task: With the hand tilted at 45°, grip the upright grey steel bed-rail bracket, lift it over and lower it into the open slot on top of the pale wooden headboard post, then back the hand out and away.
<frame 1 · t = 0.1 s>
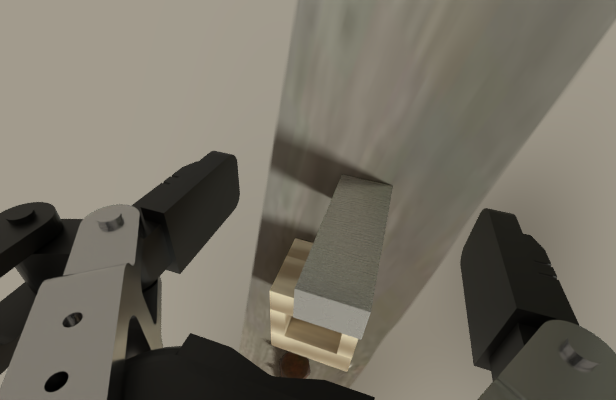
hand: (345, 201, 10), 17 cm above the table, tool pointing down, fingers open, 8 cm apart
rail bracket: (363, 194, 31), on the table
bolt: (294, 366, 62), on the table
headboard post: (329, 279, 41), on the table
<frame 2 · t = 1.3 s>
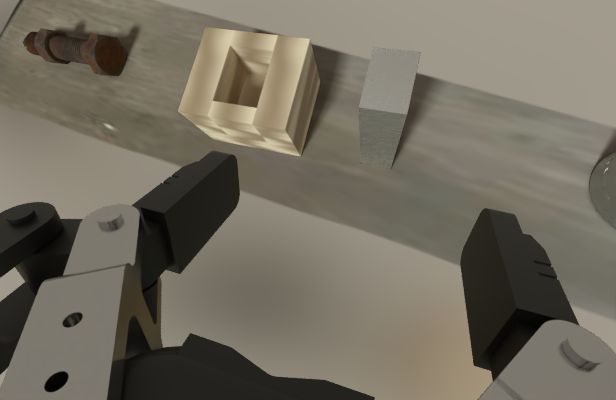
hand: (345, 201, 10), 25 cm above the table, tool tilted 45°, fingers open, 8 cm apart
rail bracket: (379, 146, 37), on the table
bolt: (86, 59, 47), on the table
headboard post: (266, 111, 40), on the table
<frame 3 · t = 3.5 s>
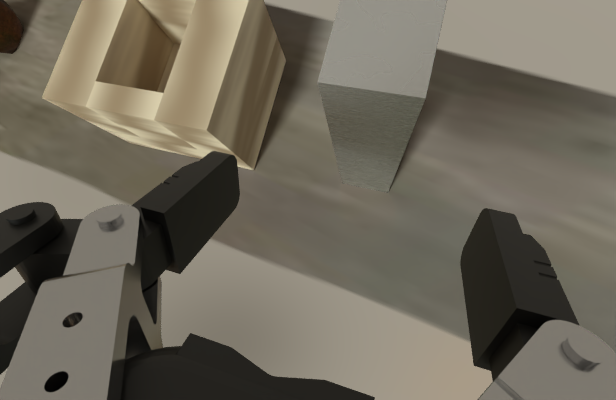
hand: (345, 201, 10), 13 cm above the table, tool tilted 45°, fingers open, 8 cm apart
rail bracket: (372, 157, 24), on the table
headboard post: (207, 102, 27), on the table
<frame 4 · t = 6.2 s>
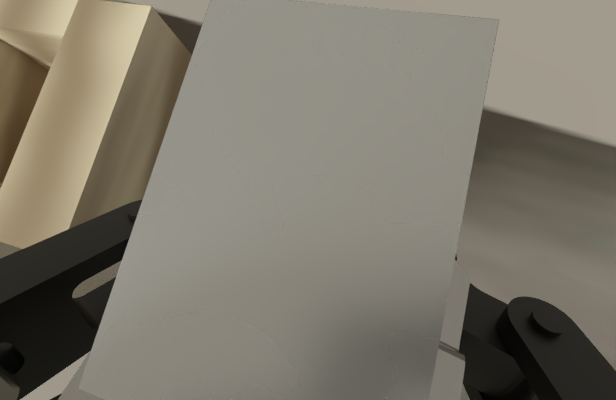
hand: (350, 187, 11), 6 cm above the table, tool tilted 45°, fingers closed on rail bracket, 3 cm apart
rail bracket: (346, 249, 17), on the table, touching gripper
headboard post: (128, 161, 20), on the table
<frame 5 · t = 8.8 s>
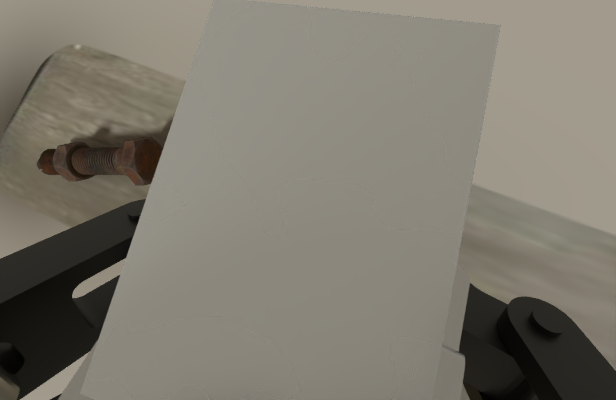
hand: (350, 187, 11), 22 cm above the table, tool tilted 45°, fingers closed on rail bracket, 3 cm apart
rail bracket: (346, 250, 17), point 16 cm above the table, touching gripper
bolt: (113, 166, 40), on the table
when the fingers open (12 cm above the table, at t = 11.8 s): rail bracket drops 2 cm, resting on headboard post.
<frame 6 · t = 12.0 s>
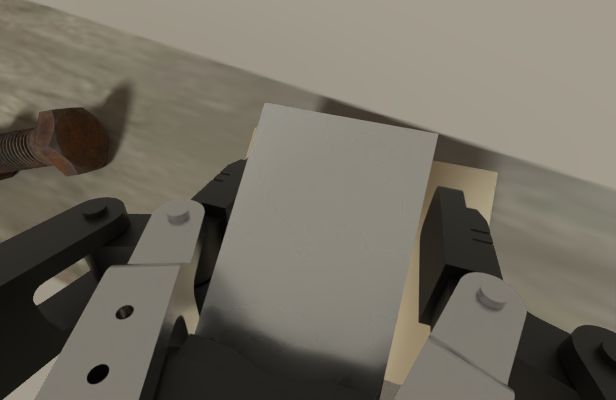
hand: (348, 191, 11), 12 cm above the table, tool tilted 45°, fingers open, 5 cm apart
rail bracket: (348, 251, 19), point 3 cm above the table, touching headboard post
bolt: (40, 160, 29), on the table
headboard post: (349, 251, 22), on the table
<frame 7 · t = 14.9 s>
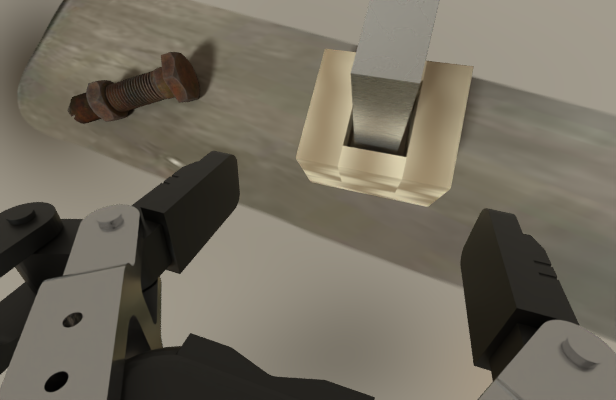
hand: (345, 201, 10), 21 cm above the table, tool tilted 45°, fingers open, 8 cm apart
rail bracket: (379, 137, 30), point 3 cm above the table, touching headboard post
bolt: (145, 103, 39), on the table
headboard post: (377, 148, 32), on the table
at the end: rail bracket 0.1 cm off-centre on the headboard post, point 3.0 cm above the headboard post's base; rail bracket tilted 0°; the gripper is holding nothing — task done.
